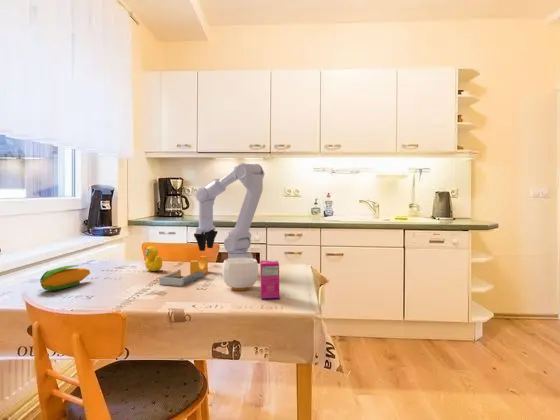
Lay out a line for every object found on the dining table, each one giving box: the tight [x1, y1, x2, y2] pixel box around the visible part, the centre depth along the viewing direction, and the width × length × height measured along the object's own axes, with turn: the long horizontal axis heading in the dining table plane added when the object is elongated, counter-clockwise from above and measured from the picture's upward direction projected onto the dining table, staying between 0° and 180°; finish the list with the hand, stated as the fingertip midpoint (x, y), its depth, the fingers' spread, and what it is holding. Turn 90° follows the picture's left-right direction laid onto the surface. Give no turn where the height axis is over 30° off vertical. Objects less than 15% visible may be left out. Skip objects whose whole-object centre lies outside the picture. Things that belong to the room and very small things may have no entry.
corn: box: [39, 264, 91, 292], centre depth 143 cm, size 7×8×20 cm
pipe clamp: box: [189, 255, 209, 275], centre depth 164 cm, size 12×4×6 cm, turn 170°
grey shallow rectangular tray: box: [158, 269, 204, 287], centre depth 153 cm, size 11×15×2 cm
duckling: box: [144, 245, 163, 272], centre depth 170 cm, size 11×5×10 cm, turn 47°
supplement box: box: [259, 259, 281, 301], centre depth 130 cm, size 6×6×12 cm
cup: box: [221, 258, 259, 291], centre depth 142 cm, size 12×12×10 cm
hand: (206, 249), depth 173 cm, fingers open, 7 cm apart
